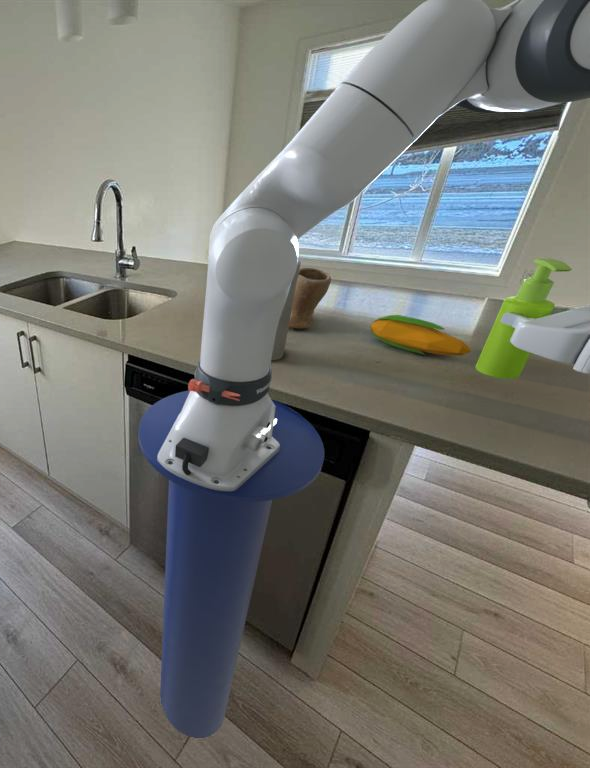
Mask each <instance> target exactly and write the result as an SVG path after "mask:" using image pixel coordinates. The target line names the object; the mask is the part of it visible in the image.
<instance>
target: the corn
mask: <svg viewBox="0 0 590 768" xmlns="http://www.w3.org/2000/svg"><path fill="white" fill-rule="evenodd" d="M445 329H446V328H445V327H443V326H441V325H438V324H436V323H434V322H431V321H427V320H424V319H420V318H416V317H411V316H406V315H401V314H389V315H386V316H382V317H378V318H377V319H375V320H374V321H372V322H371V325H370V331H371V333H372V335H373V336H374V337H375V338H377V339H378V340H379V341H380V342H383V343H385V344H386V345H389V346H392V347H396V348H398V349H401V350H404V351H405V350H406V351H408V352H412V353H415V354H418V355H423V356H426V354H425V353H428V354H434V355H439V356H440V355H442V356H459V357H460V356H461V357H462V356H464V355H468V354H470V353H471V351H472V349H471V347H470V346H469V345H468V344H467V343H465V341H463V340H461V339H459V338H456V337H455V336H452V335H450V334H448V333H446V332H444V331H443V330H445Z"/></svg>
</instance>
